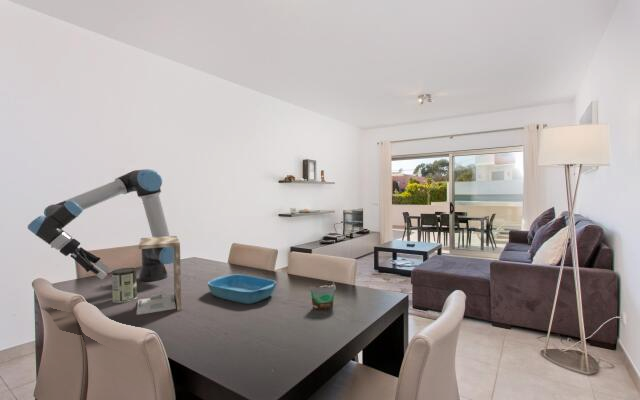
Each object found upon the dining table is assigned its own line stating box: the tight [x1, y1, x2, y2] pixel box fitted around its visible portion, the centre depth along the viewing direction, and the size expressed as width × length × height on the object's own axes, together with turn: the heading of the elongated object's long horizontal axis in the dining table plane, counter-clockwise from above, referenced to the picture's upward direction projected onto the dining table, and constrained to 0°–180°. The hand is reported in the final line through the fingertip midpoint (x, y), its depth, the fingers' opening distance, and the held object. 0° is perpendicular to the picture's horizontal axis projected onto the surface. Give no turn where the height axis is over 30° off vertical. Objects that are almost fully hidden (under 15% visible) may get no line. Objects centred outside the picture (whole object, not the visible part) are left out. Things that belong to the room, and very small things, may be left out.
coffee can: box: [111, 267, 138, 304], centre depth 156 cm, size 10×10×14 cm
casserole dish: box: [206, 273, 277, 304], centre depth 161 cm, size 37×22×7 cm, turn 57°
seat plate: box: [136, 294, 177, 316], centre depth 147 cm, size 15×18×2 cm
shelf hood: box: [138, 235, 182, 312], centre depth 148 cm, size 16×24×30 cm, turn 27°
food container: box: [309, 282, 337, 311], centre depth 142 cm, size 12×6×10 cm, turn 117°
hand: (106, 273), depth 152 cm, fingers open, 13 cm apart
